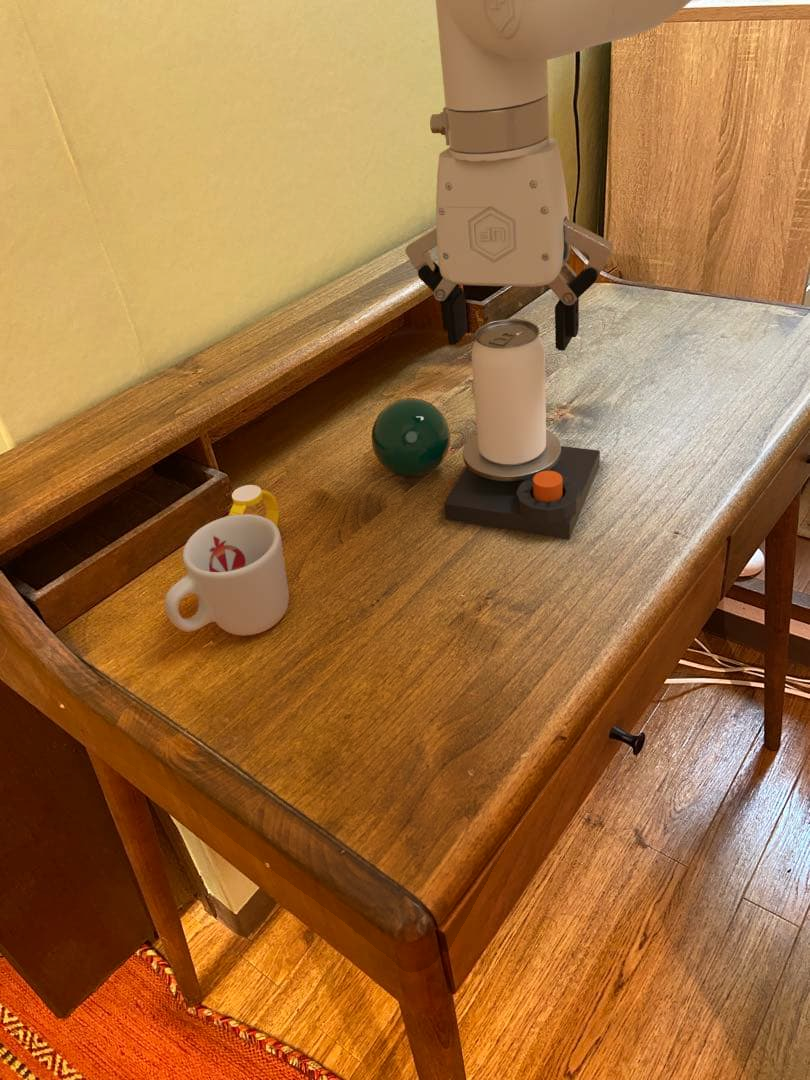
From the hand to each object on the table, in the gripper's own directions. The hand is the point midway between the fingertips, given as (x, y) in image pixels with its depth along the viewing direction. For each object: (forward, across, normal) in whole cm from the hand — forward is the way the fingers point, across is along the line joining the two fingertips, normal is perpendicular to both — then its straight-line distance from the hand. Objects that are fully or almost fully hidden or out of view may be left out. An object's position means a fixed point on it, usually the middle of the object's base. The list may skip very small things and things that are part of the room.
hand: (510, 340), depth 72 cm
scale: (+16, +1, -1) cm, 16 cm away
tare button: (+12, +4, -5) cm, 14 cm away
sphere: (+15, -11, 0) cm, 19 cm away
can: (+12, 0, 0) cm, 12 cm away
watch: (+15, -21, -15) cm, 30 cm away
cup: (+16, -17, -25) cm, 34 cm away
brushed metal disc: (+12, -1, 0) cm, 12 cm away
